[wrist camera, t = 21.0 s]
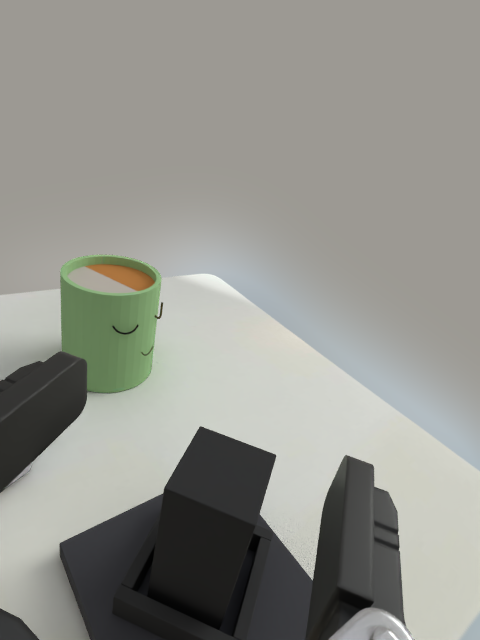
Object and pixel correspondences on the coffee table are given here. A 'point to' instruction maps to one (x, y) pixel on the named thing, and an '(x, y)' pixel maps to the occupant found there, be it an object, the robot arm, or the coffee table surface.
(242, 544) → the tall black rectangular block
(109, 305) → the mug
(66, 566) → the base pad
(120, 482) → the coffee table surface
